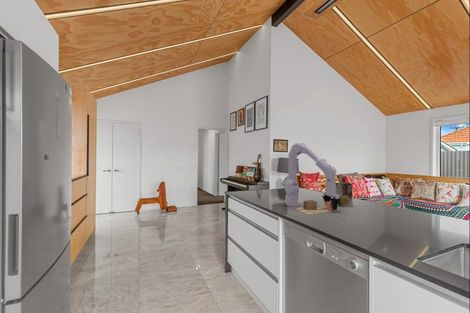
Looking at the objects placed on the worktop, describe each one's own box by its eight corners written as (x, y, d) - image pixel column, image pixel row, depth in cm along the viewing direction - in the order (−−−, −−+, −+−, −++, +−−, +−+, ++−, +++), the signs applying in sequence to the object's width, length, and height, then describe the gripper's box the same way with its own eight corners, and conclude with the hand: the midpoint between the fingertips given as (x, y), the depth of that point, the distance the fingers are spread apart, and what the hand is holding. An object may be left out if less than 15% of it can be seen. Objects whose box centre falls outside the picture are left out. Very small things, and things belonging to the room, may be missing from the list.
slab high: (303, 204, 158) (303, 200, 158) (312, 203, 159) (312, 200, 159) (307, 206, 153) (307, 202, 153) (316, 205, 154) (316, 201, 154)
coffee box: (349, 206, 165) (348, 182, 165) (352, 208, 159) (352, 183, 158) (335, 206, 166) (334, 182, 166) (338, 208, 160) (337, 183, 159)
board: (293, 209, 162) (293, 207, 162) (324, 206, 165) (324, 205, 165) (306, 215, 144) (306, 213, 144) (340, 212, 148) (340, 211, 148)
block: (325, 209, 154) (325, 201, 154) (332, 208, 155) (332, 200, 155) (329, 210, 149) (329, 202, 149) (336, 210, 150) (336, 202, 150)
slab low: (303, 208, 158) (303, 204, 158) (312, 207, 160) (312, 203, 159) (307, 210, 153) (307, 206, 153) (316, 209, 154) (316, 205, 154)
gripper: (343, 187, 145) (344, 210, 146) (330, 184, 160) (330, 205, 160) (332, 188, 144) (333, 211, 144) (320, 185, 158) (320, 206, 159)
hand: (331, 208), depth 152 cm, fingers open, 7 cm apart
